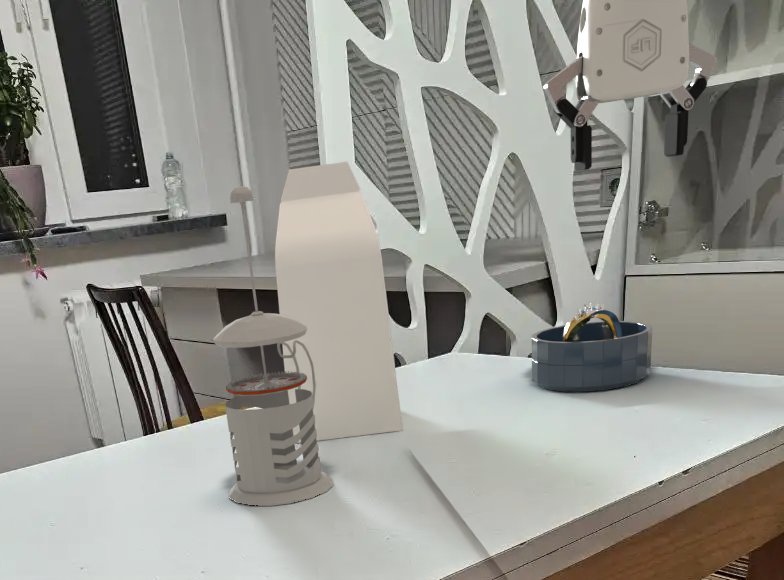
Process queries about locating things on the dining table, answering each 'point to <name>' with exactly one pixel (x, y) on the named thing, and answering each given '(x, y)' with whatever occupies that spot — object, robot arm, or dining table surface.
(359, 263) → the milk
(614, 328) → the ring
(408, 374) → the dining table surface
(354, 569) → the dining table surface
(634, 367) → the bowl
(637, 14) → the robot arm
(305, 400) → the french press
